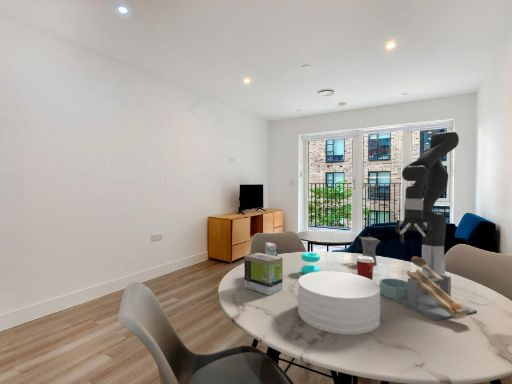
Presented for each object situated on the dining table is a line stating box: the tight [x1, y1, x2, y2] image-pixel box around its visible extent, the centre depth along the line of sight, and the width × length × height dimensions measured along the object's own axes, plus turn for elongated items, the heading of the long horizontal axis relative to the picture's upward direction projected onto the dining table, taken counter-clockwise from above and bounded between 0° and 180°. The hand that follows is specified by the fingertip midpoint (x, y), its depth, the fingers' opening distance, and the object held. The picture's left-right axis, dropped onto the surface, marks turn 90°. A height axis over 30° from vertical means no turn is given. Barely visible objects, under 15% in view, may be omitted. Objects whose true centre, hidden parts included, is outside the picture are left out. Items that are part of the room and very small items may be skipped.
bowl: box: [378, 277, 408, 300], centre depth 119 cm, size 12×12×5 cm
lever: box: [406, 256, 470, 320], centre depth 107 cm, size 30×16×4 cm, turn 19°
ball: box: [451, 301, 462, 311], centre depth 94 cm, size 3×3×3 cm
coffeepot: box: [354, 233, 381, 267], centre depth 167 cm, size 15×9×18 cm, turn 44°
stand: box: [396, 274, 478, 322], centre depth 106 cm, size 17×20×10 cm
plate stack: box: [297, 270, 381, 335], centre depth 100 cm, size 28×28×12 cm
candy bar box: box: [264, 241, 278, 256], centre depth 143 cm, size 11×5×16 cm, turn 5°
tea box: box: [243, 252, 284, 296], centre depth 125 cm, size 15×10×15 cm
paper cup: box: [355, 255, 374, 280], centre depth 125 cm, size 8×8×14 cm
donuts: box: [300, 252, 321, 275], centre depth 148 cm, size 10×10×10 cm
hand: (412, 243), depth 128 cm, fingers open, 8 cm apart
